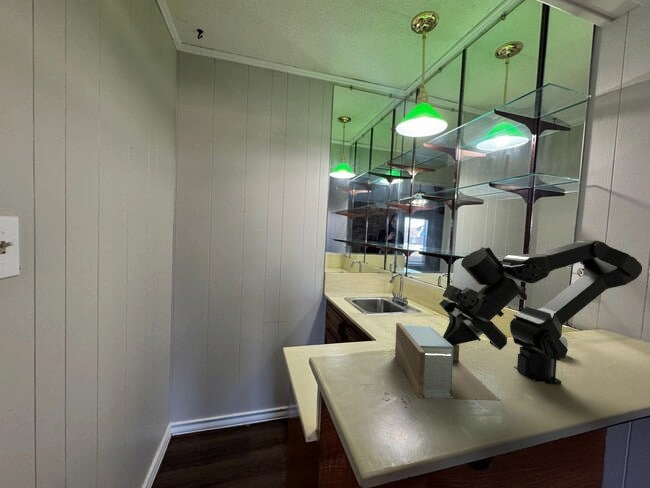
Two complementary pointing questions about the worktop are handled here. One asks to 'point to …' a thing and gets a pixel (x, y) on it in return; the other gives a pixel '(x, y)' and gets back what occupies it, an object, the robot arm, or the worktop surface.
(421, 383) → the shelf
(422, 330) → the light blue block
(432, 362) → the bookend
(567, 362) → the worktop surface
